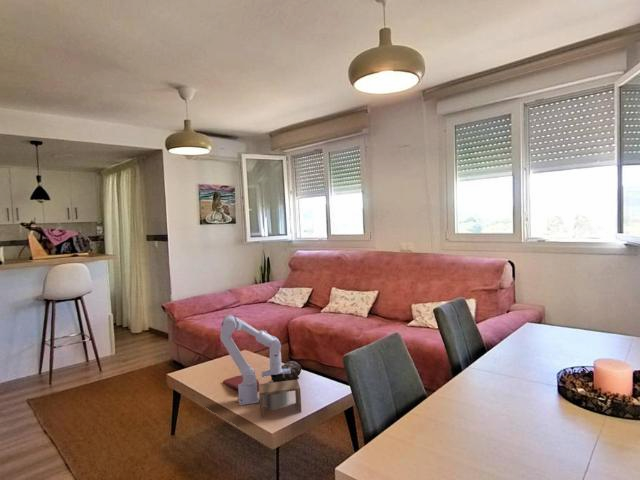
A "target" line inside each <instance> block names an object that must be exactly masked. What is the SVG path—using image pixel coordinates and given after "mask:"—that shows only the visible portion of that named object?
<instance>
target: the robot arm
mask: <svg viewBox="0 0 640 480" xmlns="http://www.w3.org/2000/svg"><path fill="white" fill-rule="evenodd" d="M220 327H221V329H220V341H221V342H222V344H223V346H224V347H225V349H226V351H227V353H228V354H229V355H230V357H231V359H232V360H233V362H234V364H235V365H236V366H237V368H238V369H239V372H240V374H241V375H242V376H243V382H242V383H241V384H238V389H237V390H238V395H237V398H238V405H239V406H242V405H243V406H244V405H249V404H257V403H260V397H259V393H258V392H257V380H258V379H257V376H256V372H255V371H256V370H255V369H254V367H252V366H251V365H249V363H248V361H247V360H246V359H245V357H244V356H243V354H242V352H241V351H240V349H239V348H238V346H237V344H236V343H235V341H234V339H233V338H232V335H233V333H234V331H235V330H236V331H243V332H245V333H247V334H250V335H251V336H253V337H255V341H256V342H258V343H259V344H261V345H264V346H265V347H268V348H269V367H270V368H269V370H265V371H261V378H265V377H268V376H270V378H272V379H271V380H272V381H273V382H276V376H277V382H280V381H281V378H282V374H286V373H289V374H290V373H291V370H290V368H289V369H282V366H283V365H282V353H281V349H282V343H281V342H280V340H279V338H278V337H276V336H274V335H271V334H269V333H268V331H267V330H263V329H261V330H258V329H256V328H254V327H253V326H252V325H250V324H248V323H247V322H246V321H244V320H242V319H241V318H239V317H237V316H234V315H232V314H227V315H226V316H224V317H223V319H222V322H221V326H220ZM256 379H257V380H256ZM273 382H272V383H273Z"/></svg>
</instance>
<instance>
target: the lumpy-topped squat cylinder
mask: <svg viewBox="0 0 640 480" xmlns="http://www.w3.org/2000/svg"><path fill="white" fill-rule="evenodd" d="M290 401H291V397H290V391H289V392H281V393H274V394H266V395H263V407H266V408H268V409H269V410H278V409H280V408H283V407H285V406H287V405H288V404H289V403H290Z"/></svg>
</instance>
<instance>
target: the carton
mask: <svg viewBox="0 0 640 480" xmlns="http://www.w3.org/2000/svg"><path fill="white" fill-rule="evenodd" d="M256 380H257V393H259V384H260V382H259V379H257V378H256ZM242 382H243V376H242V375H235V376H232V377H230V378H226V379H224V380H222V384H224V385H226V386H228V387H231V388H234V389H236V390H238V384H241V383H242Z"/></svg>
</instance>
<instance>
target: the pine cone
mask: <svg viewBox="0 0 640 480" xmlns="http://www.w3.org/2000/svg"><path fill="white" fill-rule="evenodd" d="M281 366H282V369H289V368H290V370H291V373H290V374H289V373H286V374H282V378H281V381H289V380H299V379H300V377H299V376H300V375H301V373H302V367H301V365H300V364H299V363H298V362H296V361H294V360H289V361H287V362H285V363H284V364H283V365H281ZM270 378H271V377H270ZM271 380H272V378H271ZM281 381H280V382H281ZM276 382H277V376H276Z"/></svg>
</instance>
